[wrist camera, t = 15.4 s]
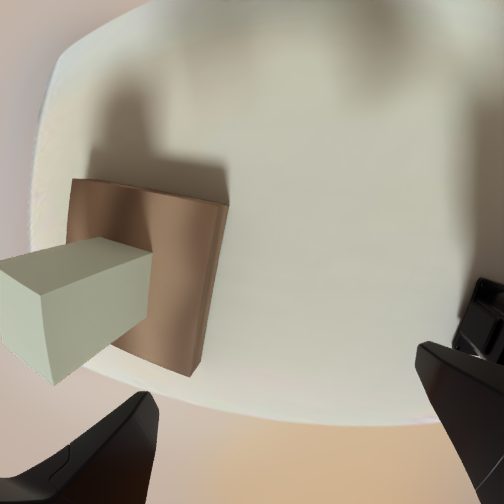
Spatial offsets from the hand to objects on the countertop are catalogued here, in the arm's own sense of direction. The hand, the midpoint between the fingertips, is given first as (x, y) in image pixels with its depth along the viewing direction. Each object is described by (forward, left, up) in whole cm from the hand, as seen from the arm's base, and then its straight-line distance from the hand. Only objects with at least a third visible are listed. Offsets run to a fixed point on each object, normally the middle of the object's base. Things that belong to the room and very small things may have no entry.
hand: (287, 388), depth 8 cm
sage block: (+13, +2, -10) cm, 16 cm away
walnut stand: (+12, +2, -12) cm, 18 cm away
